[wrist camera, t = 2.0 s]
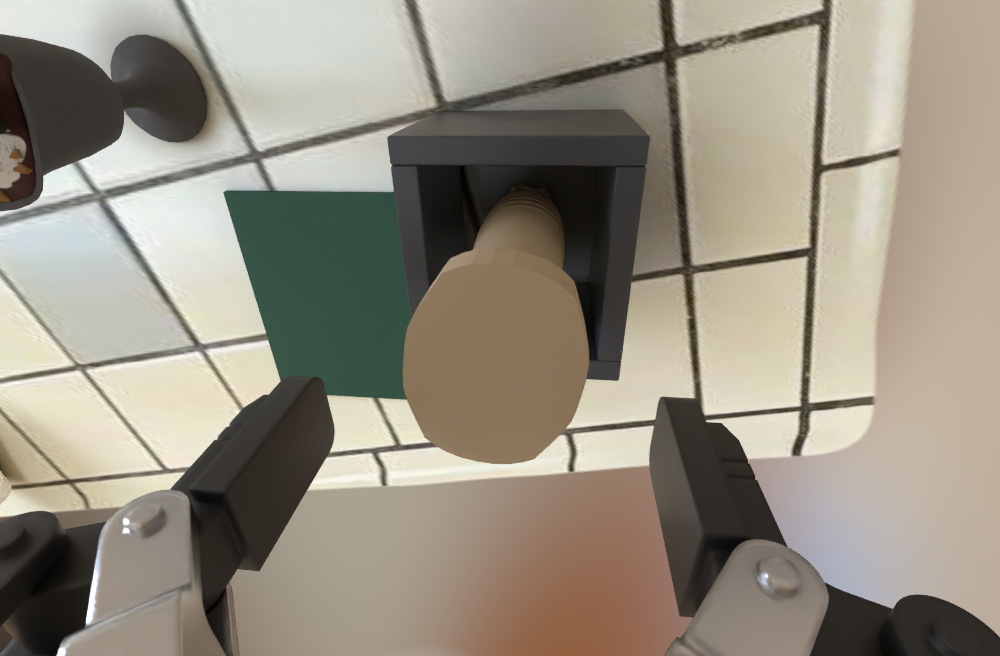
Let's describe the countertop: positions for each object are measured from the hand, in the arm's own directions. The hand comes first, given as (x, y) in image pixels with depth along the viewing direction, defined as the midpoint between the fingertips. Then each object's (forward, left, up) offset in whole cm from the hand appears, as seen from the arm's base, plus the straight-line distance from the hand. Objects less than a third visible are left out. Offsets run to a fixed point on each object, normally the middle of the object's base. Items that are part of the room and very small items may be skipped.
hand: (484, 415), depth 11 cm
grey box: (0, 0, -17) cm, 17 cm away
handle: (0, 0, -17) cm, 17 cm away
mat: (+6, -11, -17) cm, 21 cm away
